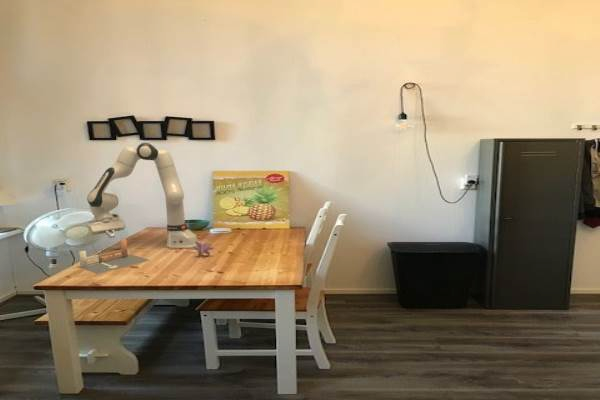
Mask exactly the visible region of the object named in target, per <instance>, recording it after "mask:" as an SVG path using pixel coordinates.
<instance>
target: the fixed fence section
mask: <svg viewBox="0 0 600 400" xmlns="http://www.w3.org/2000/svg"><path fill="white" fill-rule="evenodd" d="M78 253H79V254H78V255H79V264H80V266H81V269H83V267H87V265H88V264H92V263H97V262H99V263H103V256H102V254H103V253H99V254H96V255H91V256H87V250H80V251H78ZM93 259H95V260H93ZM89 260H90V261H89Z"/></svg>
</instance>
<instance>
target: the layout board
mask: <svg viewBox="0 0 600 400" xmlns="http://www.w3.org/2000/svg"><path fill="white" fill-rule="evenodd" d="M102 261H103V260H102ZM147 262H150V259H148V258H146V257H145V258H144V257H141V256H137V255H135V254H132V253H131V254H128V256H126V257H118V258H115V259H109V260H105V261H103V263H99V262H97V263H92V264H88V265H87V267H83V268H81V265H80V266H78V267H79V268H81V269H83V270H85V271H88V272H91V273H94V274H95V275H99V274H104V273H108V272H111V271H115V270H119V269H121V268H122V269H123V268H126V267H130V266H135V265H138V264H142V263H147Z"/></svg>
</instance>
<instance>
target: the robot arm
mask: <svg viewBox="0 0 600 400" xmlns="http://www.w3.org/2000/svg"><path fill="white" fill-rule="evenodd" d="M139 160H144V161H154V164H155V166H156V170H157V173H158V175H159V176H158V177H159V179H160V183H161V187H162V189H163V191H164V196H165V206H166V209H165V210H166V221H167V224H166V230H167V240H166V247H168V248H169V249H187V248H188V249H193V248H195V247H197V245H196V243H195V241H197V242H199V243H201V244H202V242H201V241H198V237H197V235H196V234H195V233H193V232H192V231H191V230H190V229H188V227H189V224H186V221H185V220H186V219H185V218H186V217H185V209H184V207H185V206H184V199H185V194H184V190H183V188H182V187H183V186H182V184H181V181H180V178H179V175H178V173H177V172H178V171H177V170H176V169H177V168H176V166H175V163H174V160H173V157H172V155H171V153H170V152H169V151H168V150H167V149H158V148H156V146H155V145H153V143H151V142H146V141H145V142H142V143H140V144H139V145H137V147H133V146H125V147H124V148H123V149H122V150H121V151H120V153H119V155H118V157H117V158H116V161H115V162H114V164H113V165H111V166H110V167H108V168H107V169H106V170H105V171H104V173H103V174H102V175H101V177H100V178H99V180H98V182H96V184H95V186H94V188H93V189H92V190H91V191H89V193H88V195H87V197H86V199H87V202H88V204H89V205H88V206H89V209H90V211H91V214H92V215H93V216H94V220H93V221H88V222H87V227H88V228H89V232H90V234H91V235H92V236H96V235H101V234H105V235H106V236H108V238H109V239H111V238H115V237H116V236H115V232H120V231H124V230H125V228H126V224H125V222H124V221H123V219H122V218H121V217H120V215H119V214H118V213H117V214H116V213H111V211H112V210H114V209H115V208H116V207H117V206H118V205H119V197H118V196H117V195H116V194H113V193H109V192H105V191H106V189H107V188H108V186H109V185H110V184H111V182H112V181H114V180H117V179H122V178H127V177H129V176H130V175H131V174H132V173H133V171H134V169H135V167H136V165H137V163H138V161H139Z"/></svg>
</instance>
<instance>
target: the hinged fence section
mask: <svg viewBox="0 0 600 400" xmlns="http://www.w3.org/2000/svg"><path fill="white" fill-rule="evenodd" d="M119 253H121V254H119ZM128 253H129V252H128V242H127V238H122V239H120V250H119V249H118V250H114V251H110V252H106V253H101V254H102V261H105V260H109V259H115V258H118V257H126V256H128V255H129V254H128ZM110 255H112V256H110ZM106 256H108V257H106ZM103 257H104V258H103Z"/></svg>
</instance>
